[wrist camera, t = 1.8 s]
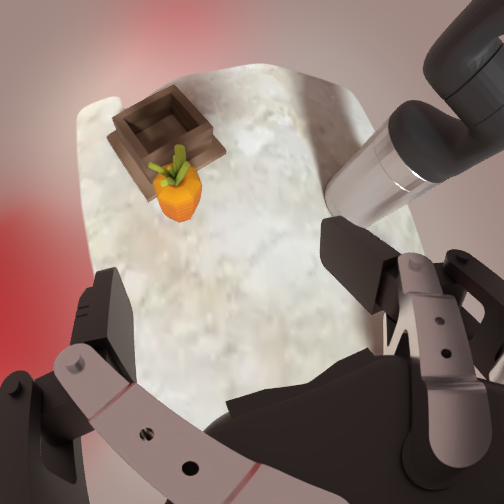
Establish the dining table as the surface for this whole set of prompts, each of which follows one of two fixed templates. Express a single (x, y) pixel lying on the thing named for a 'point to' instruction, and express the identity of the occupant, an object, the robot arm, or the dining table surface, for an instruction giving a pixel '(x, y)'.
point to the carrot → (177, 186)
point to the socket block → (162, 136)
